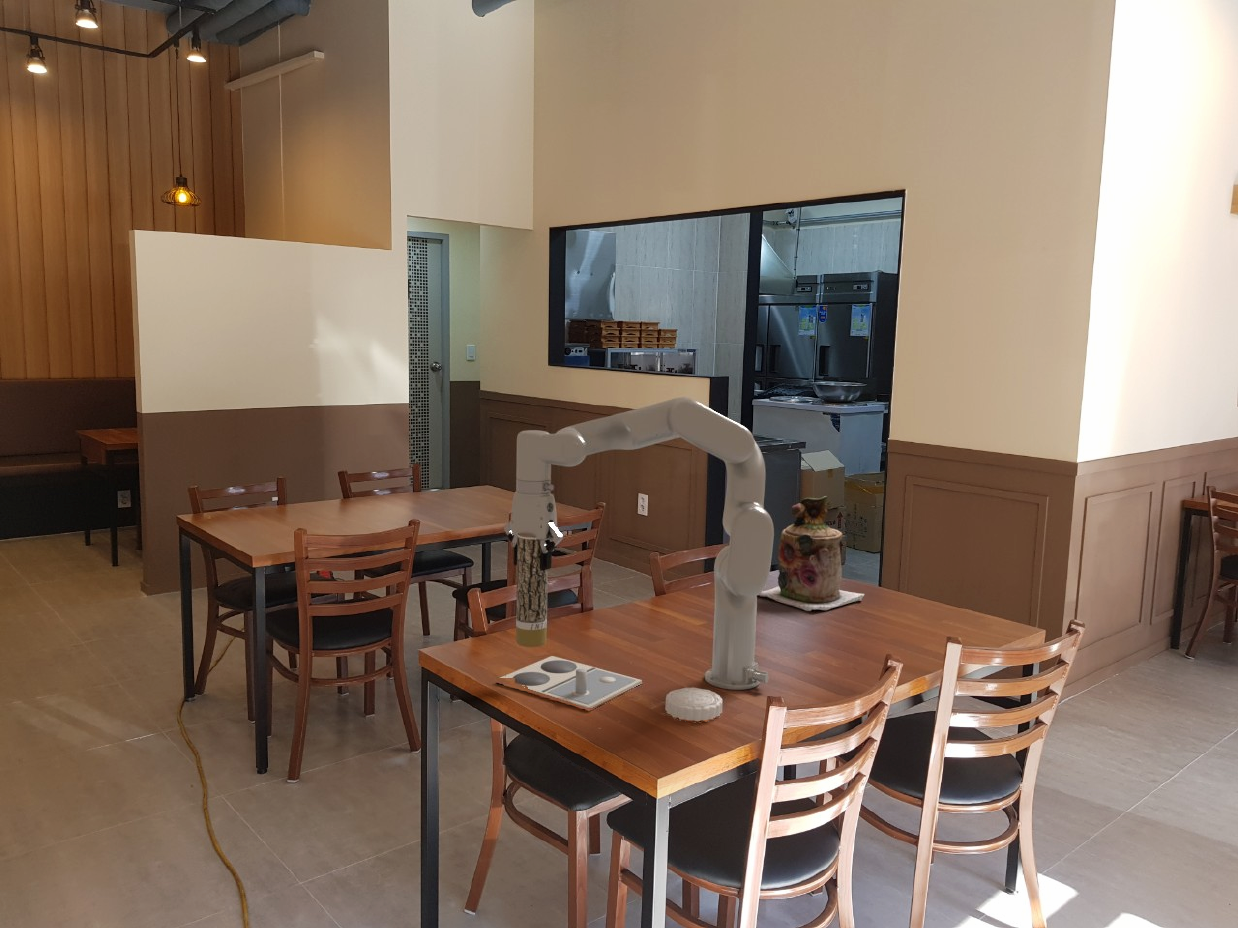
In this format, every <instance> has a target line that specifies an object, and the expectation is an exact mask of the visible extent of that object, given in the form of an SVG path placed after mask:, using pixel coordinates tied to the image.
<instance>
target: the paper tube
mask: <svg viewBox="0 0 1238 928" xmlns="http://www.w3.org/2000/svg"><path fill="white" fill-rule="evenodd" d="M546 537H547V535H546ZM545 543H546V546H547V541H545ZM542 552H543V551H542V549H541V546H540V541H539V540H537V539H536V538H535V537H533V536H527V535H522V534H518V535H517V565H516V603H515V604H516V607H515V608H516V610H515V612H516V613H515V615H516V616H515V618H516V619H515V620H516V621H515V624H516V625H515V629H516V630H515V633H516V634H515V640H516V641H515V642H516V643H517V644H518V645H519V646H521V647H524V648H536V647H539V648H540V647H541V646H544V645H545V644H546V643H547V635H548V634H547V630H548V629H547V627H548V626H547V625H548V583H549V582H548V578H549V577H548V575H549V574H548V573H549V572H548V571H549V569H548V570H544V571H541V570H540V553H542Z"/></svg>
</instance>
